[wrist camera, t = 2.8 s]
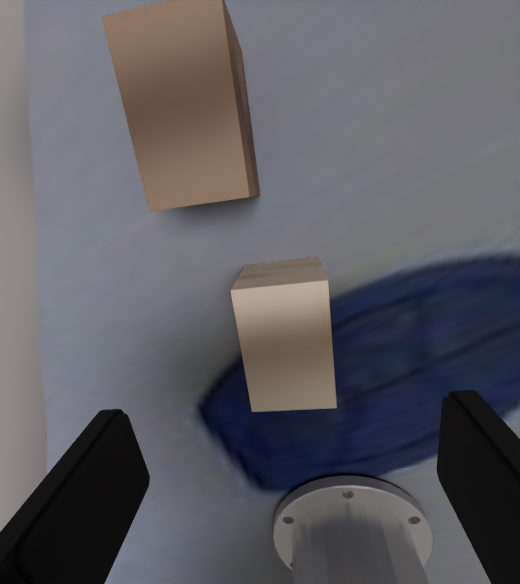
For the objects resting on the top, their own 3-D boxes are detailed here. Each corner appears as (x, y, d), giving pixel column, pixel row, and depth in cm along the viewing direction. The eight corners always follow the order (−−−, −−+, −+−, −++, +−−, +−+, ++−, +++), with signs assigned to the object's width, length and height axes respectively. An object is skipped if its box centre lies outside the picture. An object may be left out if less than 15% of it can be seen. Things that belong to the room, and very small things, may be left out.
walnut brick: (260, 195, 17) (249, 197, 13) (186, 205, 18) (149, 211, 13) (241, 50, 15) (220, -12, 10) (158, 68, 16) (101, 16, 11)
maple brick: (325, 357, 20) (336, 408, 16) (260, 361, 21) (252, 411, 16) (318, 256, 18) (327, 280, 13) (245, 265, 19) (230, 290, 14)
